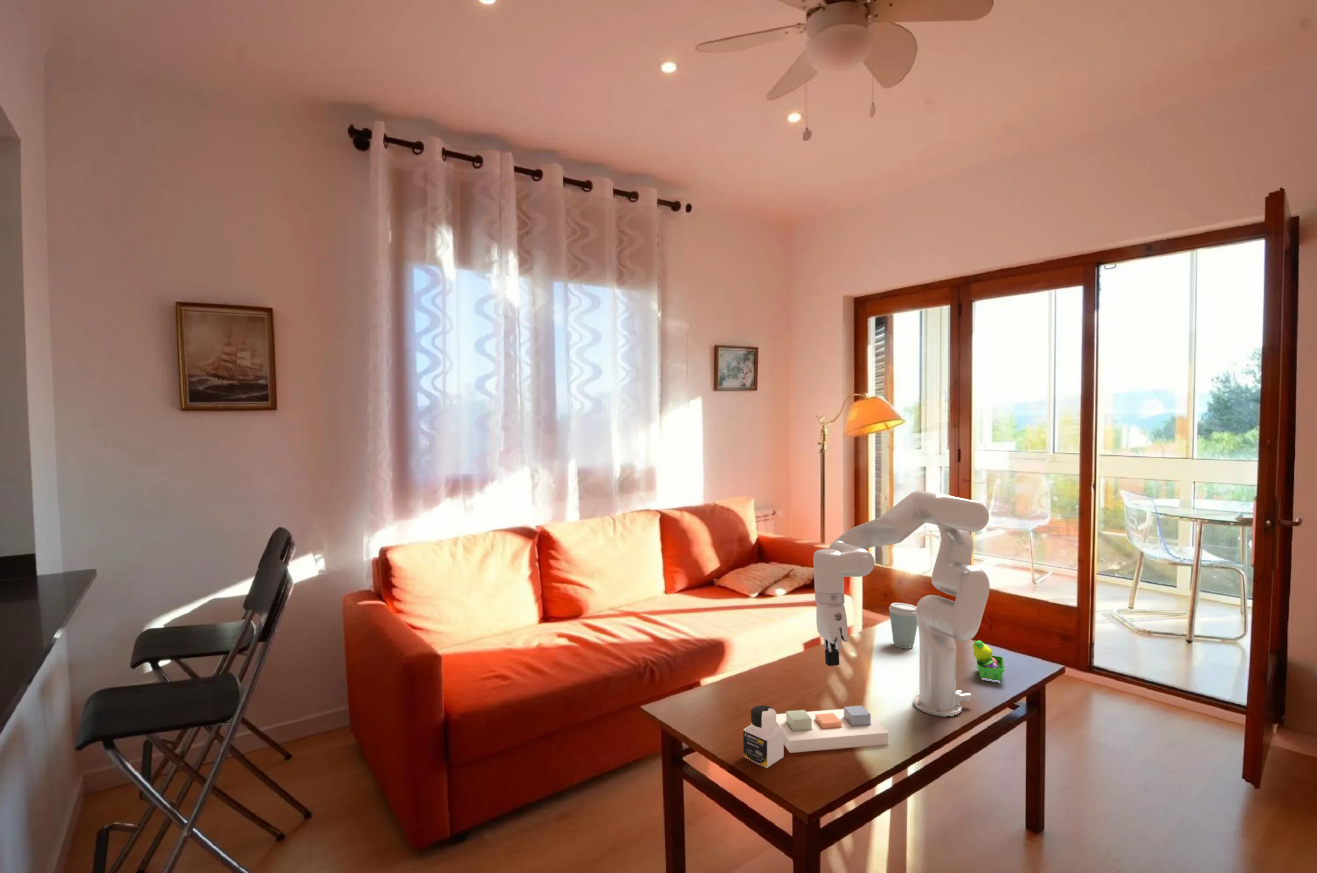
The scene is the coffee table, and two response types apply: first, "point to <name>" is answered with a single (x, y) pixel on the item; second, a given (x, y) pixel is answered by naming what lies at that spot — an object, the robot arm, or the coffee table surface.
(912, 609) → the disposable coffee cup
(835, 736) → the key board
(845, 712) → the key slate
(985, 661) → the fruit basket
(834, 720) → the key terracotta
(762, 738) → the medicine bottle
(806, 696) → the coffee table surface
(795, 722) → the key sage
